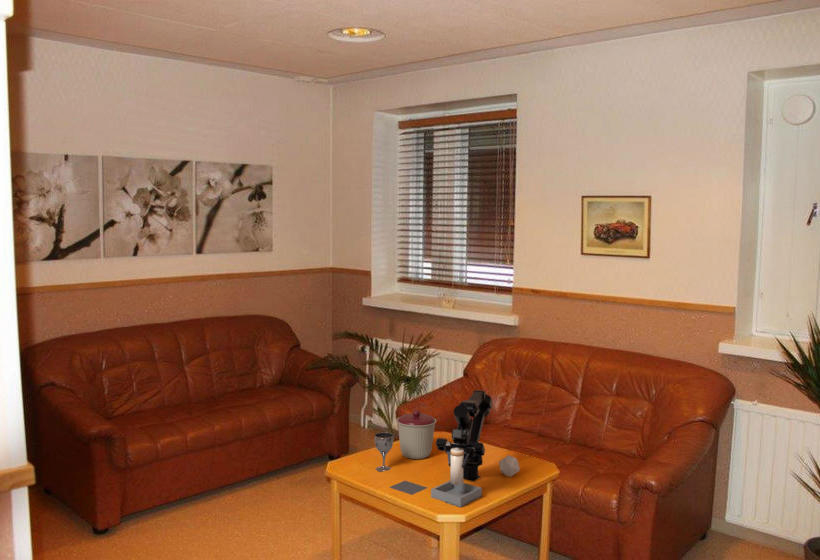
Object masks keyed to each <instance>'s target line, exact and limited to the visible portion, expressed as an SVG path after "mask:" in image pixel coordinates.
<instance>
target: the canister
mask: <svg viewBox="0 0 820 560" xmlns="http://www.w3.org/2000/svg"><path fill="white" fill-rule="evenodd" d="M395 421H396V423H397V428H398V437H399V440H398V441H399V447H400V452H401V454H402V456H403V457H405V458H407V459H412V460H419V459H421V460H423V459H425V458H429V456H430V454H431V452H432V449H433V448H432V447H433V444H434V443H433V442H434V434H435V433H434V432H435V426H436V423H437V419H436V418H435V417H433V416H431V415H430V414H426V413H421V411H420V410H418V409H414V410H413V411H412V413H405V414H402V415H400V416H399V417H397V418H396V420H395Z"/></svg>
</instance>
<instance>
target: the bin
mask: <svg viewBox="0 0 820 560" xmlns="http://www.w3.org/2000/svg"><path fill="white" fill-rule="evenodd" d="M482 491H483V488H482V487H481V486H476V485H472V484H469V483H466V482H463V484H461V485H453V484H451V483H450V480H447V482H446V481H445V482H443V483H442V484H440V485H437V486H435V487H433V488H431V489H430V498H432V499H435V500H438V501H441V502H444V503H446V504H449V505H451V506H455V507H458V508H463V507H465V506H466V505H469V504H470V503H472V502H474V501H476V500H477V499H480V498H481V497H482V495H483V494H482V493H483V492H482Z"/></svg>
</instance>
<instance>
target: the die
mask: <svg viewBox="0 0 820 560" xmlns="http://www.w3.org/2000/svg"><path fill="white" fill-rule="evenodd" d="M519 463H520V462H519V461H518V459H517V458H516V457H514V456H512V455H510V454H508V455H506V456H505V457H504V458H501V460H500V461H498V464H499V470H500V472H501V474H503V475H505V476H506V477H509V476H511V477H513V476H514V475H515V474H517V473H518V472H520V471H521V470H520V469H521V468H520V465H519Z"/></svg>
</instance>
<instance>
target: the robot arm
mask: <svg viewBox="0 0 820 560" xmlns="http://www.w3.org/2000/svg"><path fill="white" fill-rule="evenodd" d="M492 399H493V398H492V397H491V396H490V395H489V394H487V392H486V391H485V390H478V389H476V390H473V391H472V394H471V395H470V397H469V398H468V399H466V400H462V401H461V402H460V403H459V404H458V405H457V406H455V408H454V409H453V416H454V418H455V422H456V423H457V427H456V428H454V429H453V428H452V430H451V431H452V432H451V440H452V442H451V441H448V439H447V438H441V437H438V438H436V441H435V445H436V448H437V450H438V451H441V452H445V453H446V455H447V463H448V466H449V467H450V464H451V449H452V448H462V449H464V461H463V465H462V468H463V480H466V481H470V482H475V481H477V480H478V479H481V478H482V476H481V475H479V467H480V466H483V456H485V453H486V449H485V445H484V444H483V443H484V442H483V443H482V442H480V438H481V434H482V429H483V426H484V422H485V418H487V417H488V416H489V415H490V413H491V410H492V409H493V404H494V402H493V400H492Z"/></svg>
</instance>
